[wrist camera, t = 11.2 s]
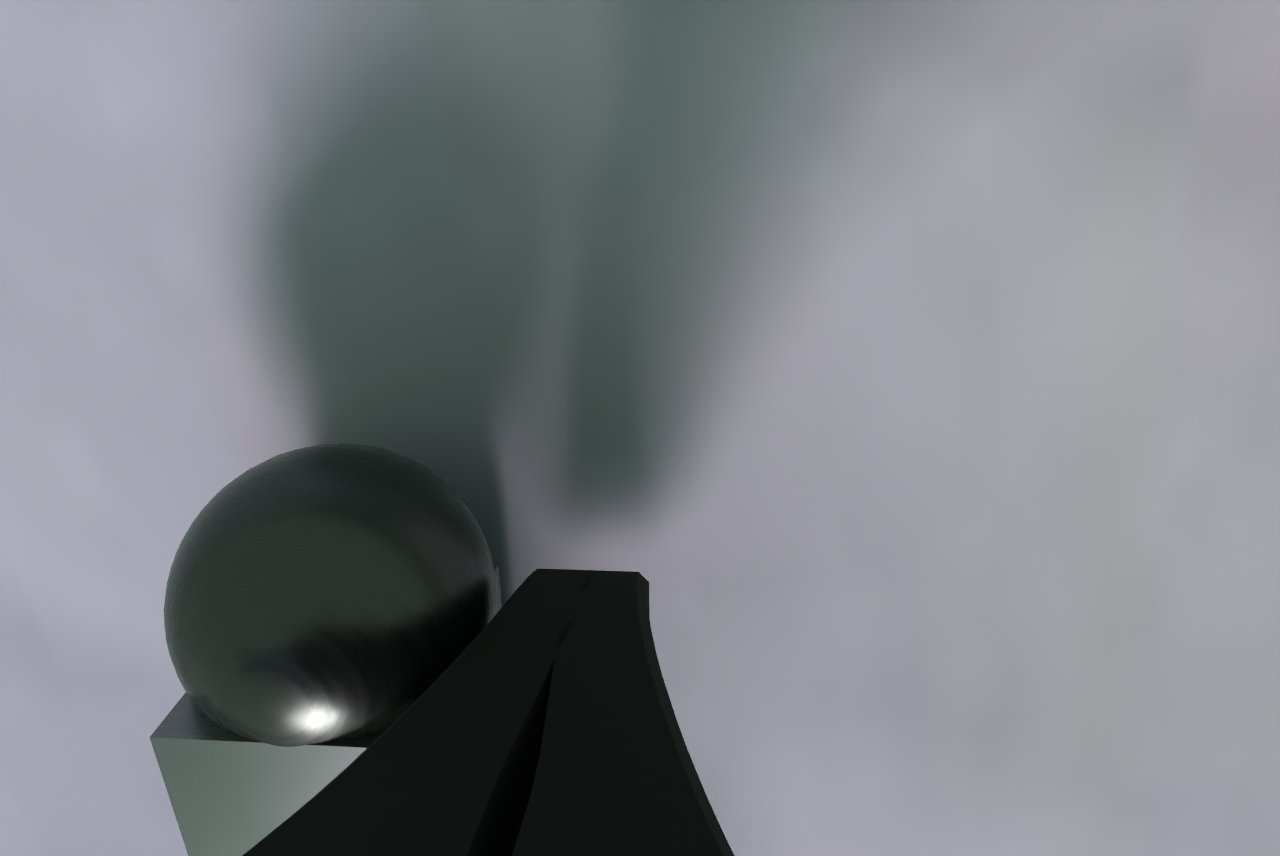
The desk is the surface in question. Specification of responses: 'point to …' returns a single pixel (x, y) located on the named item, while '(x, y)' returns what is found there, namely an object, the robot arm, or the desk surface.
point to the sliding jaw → (309, 629)
